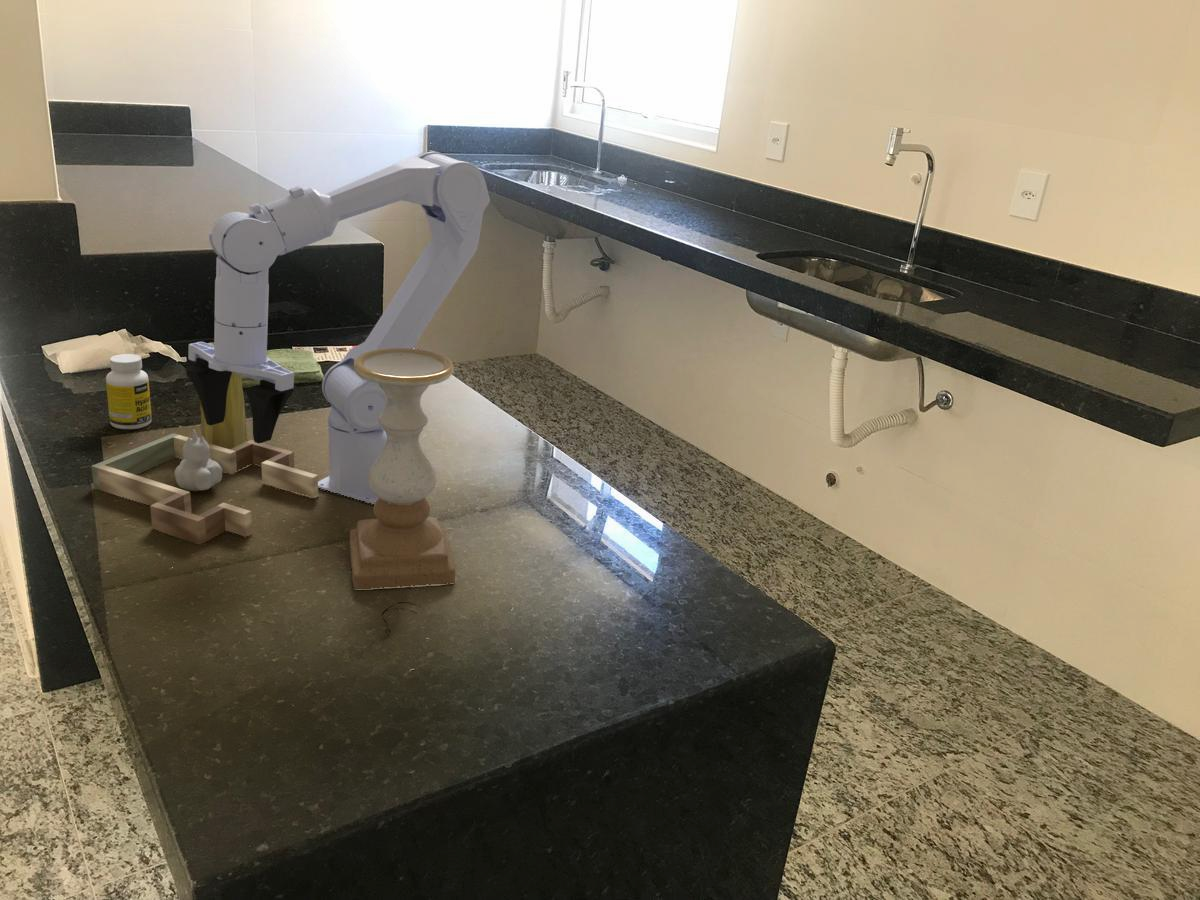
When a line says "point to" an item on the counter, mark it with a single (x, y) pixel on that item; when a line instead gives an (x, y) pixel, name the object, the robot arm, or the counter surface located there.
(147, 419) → the supplement bottle
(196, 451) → the white animal figurine
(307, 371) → the washcloth
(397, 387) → the candle holder
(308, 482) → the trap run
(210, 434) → the vase
